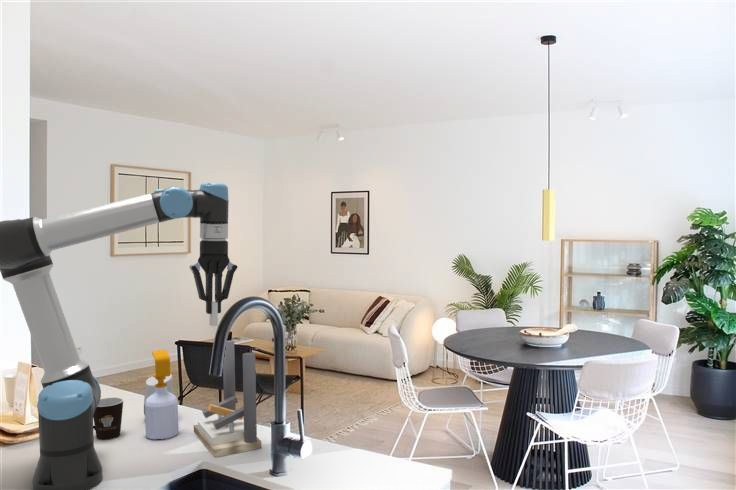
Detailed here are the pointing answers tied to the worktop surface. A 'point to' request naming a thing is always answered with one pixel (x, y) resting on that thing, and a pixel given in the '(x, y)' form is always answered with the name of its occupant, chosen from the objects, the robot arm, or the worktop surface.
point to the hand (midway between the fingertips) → (213, 325)
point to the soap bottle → (161, 402)
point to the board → (226, 445)
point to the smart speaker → (151, 387)
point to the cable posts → (248, 388)
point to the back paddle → (224, 404)
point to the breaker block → (222, 431)
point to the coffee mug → (108, 418)
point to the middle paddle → (220, 410)
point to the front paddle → (228, 418)
